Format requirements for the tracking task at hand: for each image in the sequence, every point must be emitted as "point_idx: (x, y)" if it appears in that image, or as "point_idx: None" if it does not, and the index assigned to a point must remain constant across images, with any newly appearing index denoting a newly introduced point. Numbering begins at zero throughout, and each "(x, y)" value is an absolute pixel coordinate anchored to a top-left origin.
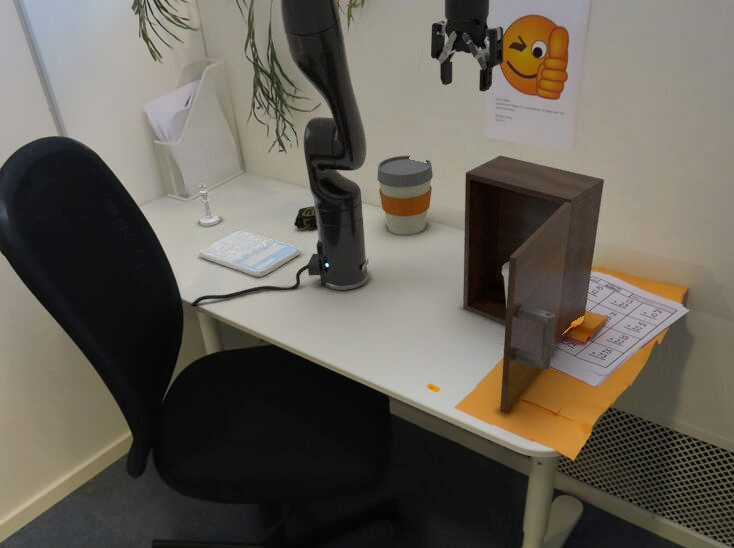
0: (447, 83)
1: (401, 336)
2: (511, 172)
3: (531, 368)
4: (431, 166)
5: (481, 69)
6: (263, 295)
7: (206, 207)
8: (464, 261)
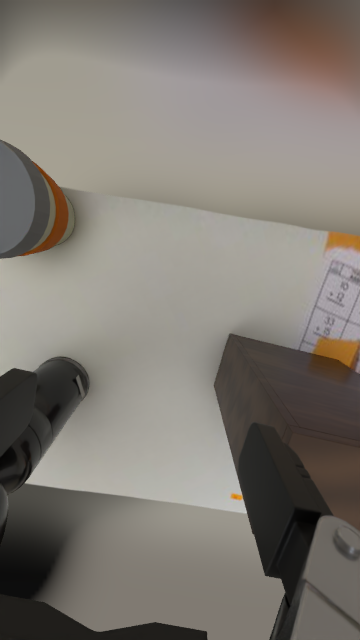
0: (31, 406)
1: (178, 448)
2: (342, 509)
3: None
4: (29, 169)
5: (273, 567)
6: None
7: None
8: (222, 418)
